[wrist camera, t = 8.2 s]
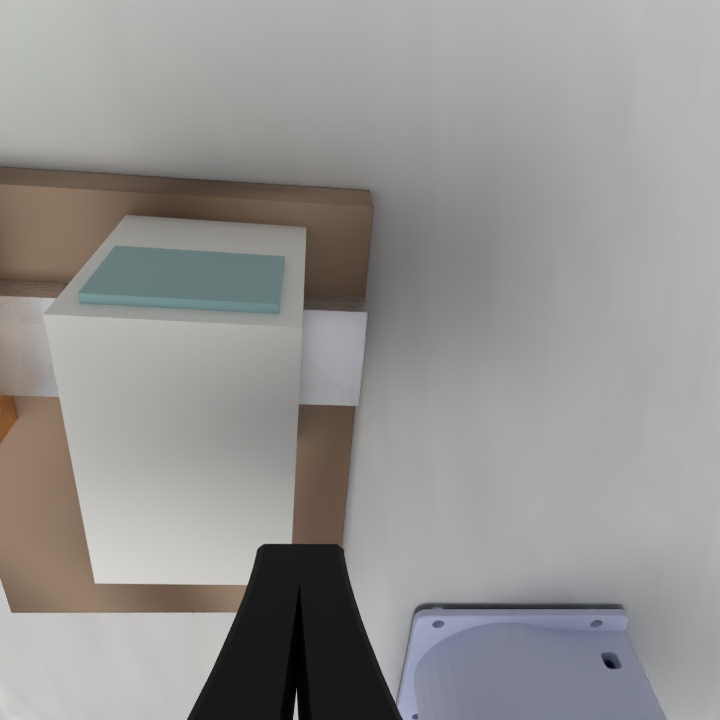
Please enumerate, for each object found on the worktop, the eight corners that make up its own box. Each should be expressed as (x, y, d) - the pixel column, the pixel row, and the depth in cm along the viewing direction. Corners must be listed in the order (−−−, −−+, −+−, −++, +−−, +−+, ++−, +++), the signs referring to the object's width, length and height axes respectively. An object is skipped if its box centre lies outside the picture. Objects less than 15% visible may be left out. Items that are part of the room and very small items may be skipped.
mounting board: (369, 190, 17) (373, 206, 16) (334, 580, 25) (335, 612, 24) (-94, 160, 16) (-130, 176, 15) (27, 579, 24) (11, 612, 23)
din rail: (370, 244, 16) (384, 312, 13) (352, 426, 19) (361, 521, 16) (-117, 217, 15) (-244, 283, 12) (-53, 415, 18) (-138, 515, 15)
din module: (306, 219, 16) (302, 318, 11) (296, 441, 19) (289, 585, 15) (125, 206, 15) (41, 303, 11) (149, 436, 19) (95, 583, 14)
